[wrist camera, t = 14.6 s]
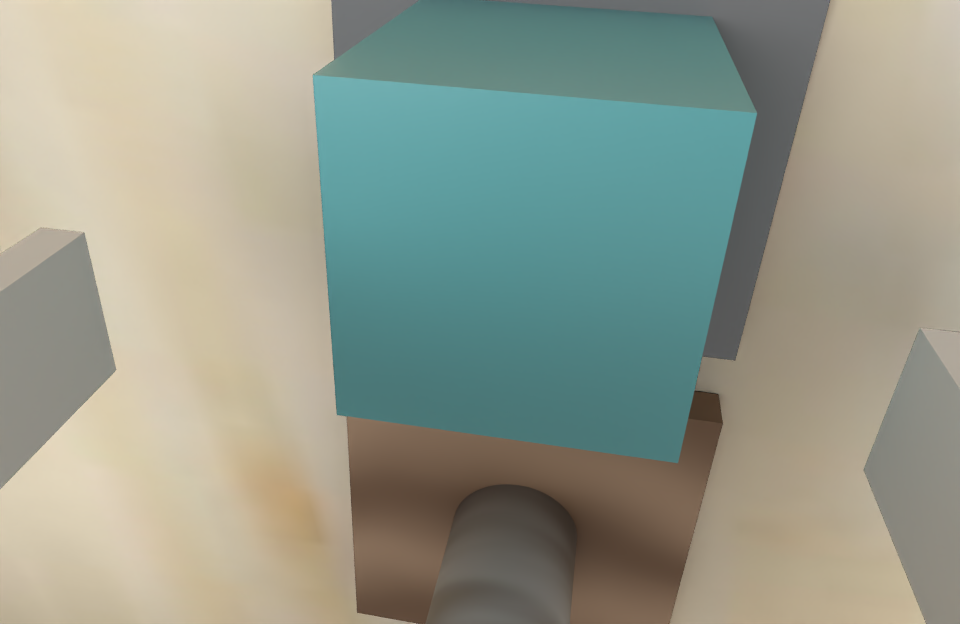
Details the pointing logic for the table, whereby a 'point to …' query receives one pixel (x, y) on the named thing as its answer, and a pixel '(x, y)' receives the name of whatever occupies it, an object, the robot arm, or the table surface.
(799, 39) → the slate mat
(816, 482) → the table surface
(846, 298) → the table surface
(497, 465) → the post stand
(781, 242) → the table surface
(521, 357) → the teal block
